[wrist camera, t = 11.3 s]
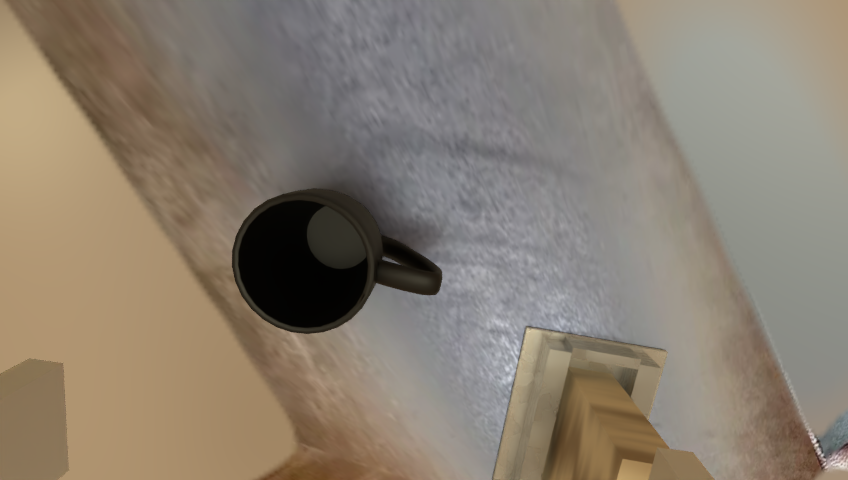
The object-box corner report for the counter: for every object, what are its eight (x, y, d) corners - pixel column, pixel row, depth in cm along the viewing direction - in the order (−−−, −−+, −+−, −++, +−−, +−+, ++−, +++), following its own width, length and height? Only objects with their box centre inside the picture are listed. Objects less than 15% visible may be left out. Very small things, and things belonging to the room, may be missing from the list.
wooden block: (567, 366, 35) (622, 458, 25) (611, 373, 35) (686, 469, 25) (540, 477, 37) (580, 608, 26) (582, 484, 37) (639, 619, 26)
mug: (429, 308, 35) (424, 362, 26) (280, 275, 35) (221, 318, 26) (452, 206, 34) (456, 225, 25) (296, 171, 34) (240, 178, 25)
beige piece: (526, 326, 35) (532, 339, 33) (665, 350, 35) (682, 365, 33) (489, 491, 38) (492, 515, 36) (618, 514, 38) (631, 540, 36)
